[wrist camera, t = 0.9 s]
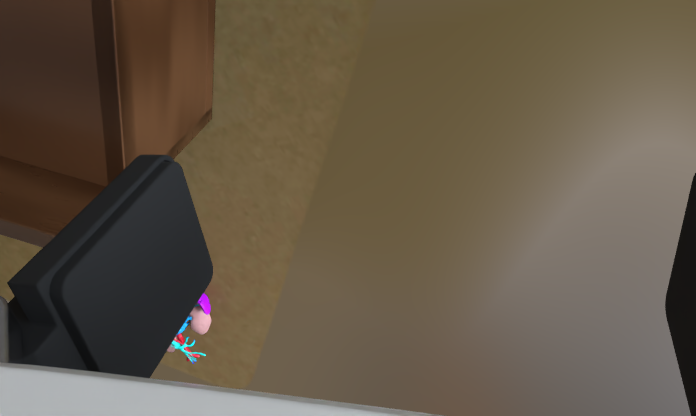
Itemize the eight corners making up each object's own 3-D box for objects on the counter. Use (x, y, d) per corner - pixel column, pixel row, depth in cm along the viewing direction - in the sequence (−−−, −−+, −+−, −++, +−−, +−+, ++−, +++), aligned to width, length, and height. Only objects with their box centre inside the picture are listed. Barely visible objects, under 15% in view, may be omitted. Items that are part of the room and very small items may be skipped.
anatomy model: (220, 385, 46) (173, 329, 42) (137, 387, 49) (87, 335, 45) (242, 330, 49) (202, 273, 46) (164, 335, 53) (120, 283, 49)
